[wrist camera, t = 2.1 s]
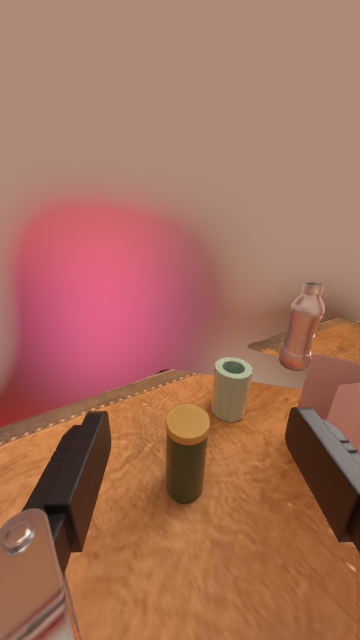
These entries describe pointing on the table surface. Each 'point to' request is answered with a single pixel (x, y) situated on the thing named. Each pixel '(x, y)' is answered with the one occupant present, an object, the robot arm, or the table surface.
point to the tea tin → (186, 451)
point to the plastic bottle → (302, 327)
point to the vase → (230, 388)
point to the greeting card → (334, 394)
